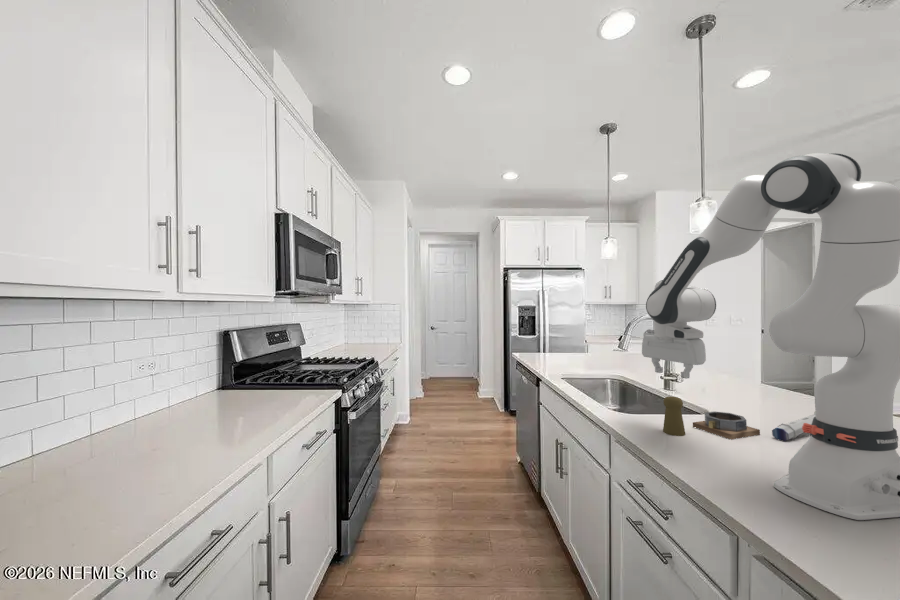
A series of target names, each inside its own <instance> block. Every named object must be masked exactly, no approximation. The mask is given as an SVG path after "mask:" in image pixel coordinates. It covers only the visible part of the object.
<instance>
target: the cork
mask: <svg viewBox="0 0 900 600" xmlns="http://www.w3.org/2000/svg"><path fill="white" fill-rule="evenodd" d="M663 406H664V407H665V409H664V410H665V411H664V419H663V427H662V428H663V429H662V432H663V433H664V434H665V435H668V436H675V437H684V436H686V429H685V424H684V419H683V413H682V408H683V406H684V402H683V400H682V399H681V398H680V397H676V396H670V395H669V396H666V397H664V398H663Z"/></svg>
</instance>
